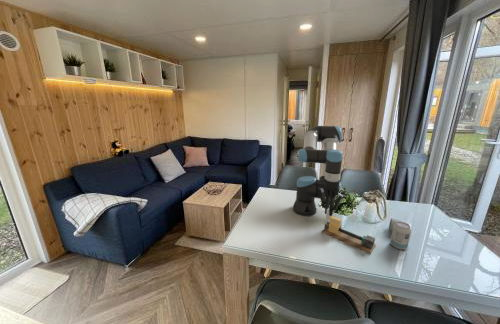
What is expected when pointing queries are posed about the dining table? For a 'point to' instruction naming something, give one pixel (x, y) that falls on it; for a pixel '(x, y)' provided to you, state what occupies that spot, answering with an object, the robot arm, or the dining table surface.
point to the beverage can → (400, 235)
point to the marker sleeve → (334, 225)
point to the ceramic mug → (392, 222)
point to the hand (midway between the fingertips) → (328, 219)
